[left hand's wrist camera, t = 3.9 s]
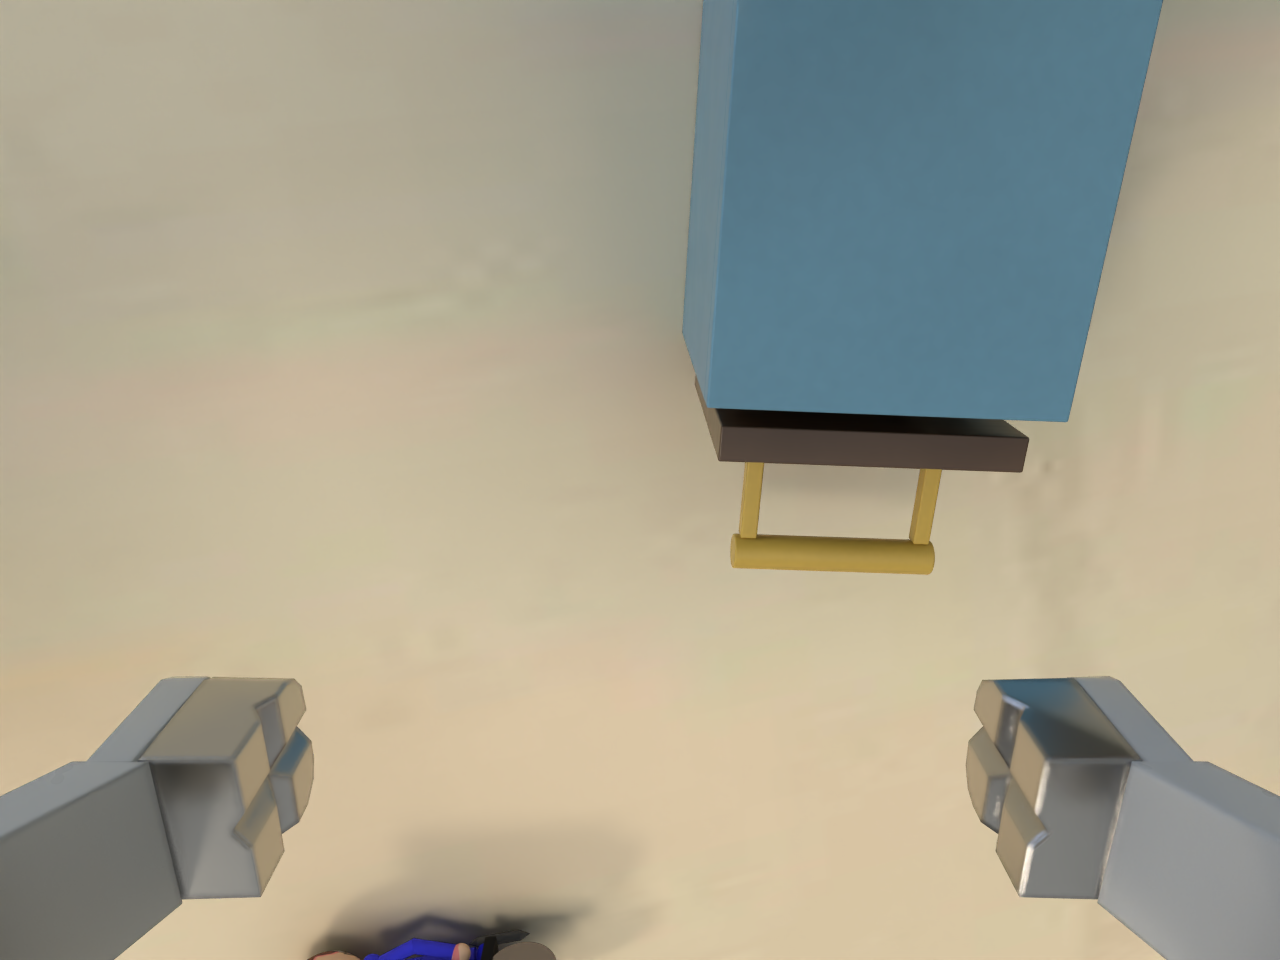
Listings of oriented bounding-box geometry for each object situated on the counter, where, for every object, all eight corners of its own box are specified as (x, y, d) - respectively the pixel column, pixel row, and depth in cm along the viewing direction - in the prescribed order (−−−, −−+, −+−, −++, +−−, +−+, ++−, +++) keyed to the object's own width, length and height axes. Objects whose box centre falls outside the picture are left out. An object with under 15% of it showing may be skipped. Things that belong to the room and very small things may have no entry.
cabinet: (939, 344, 37) (1068, 422, 27) (682, 333, 37) (706, 408, 26) (1028, -194, 31) (1250, -384, 20) (716, -213, 30) (768, -418, 20)
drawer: (906, 508, 39) (992, 616, 30) (686, 500, 39) (706, 607, 30) (1005, -97, 31) (1165, -201, 22) (729, -113, 31) (774, -226, 22)
